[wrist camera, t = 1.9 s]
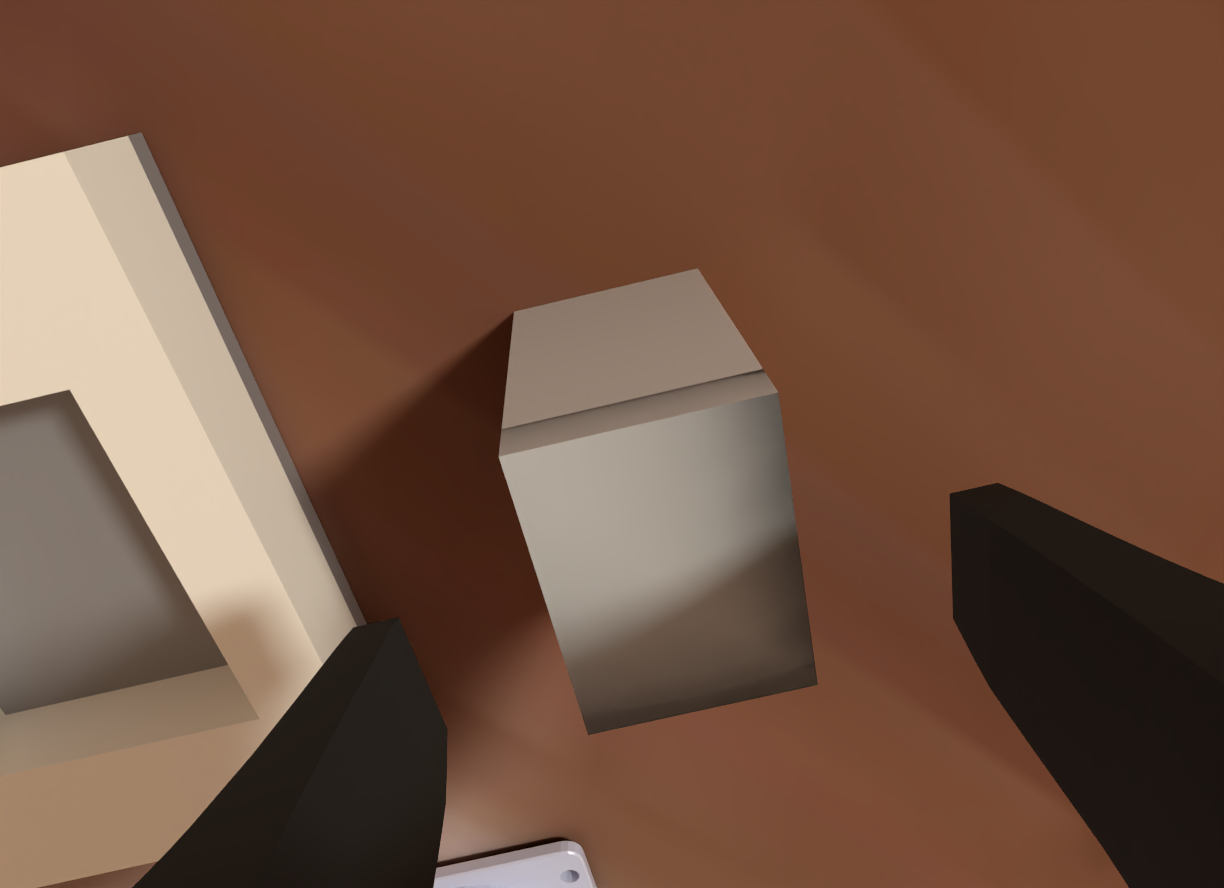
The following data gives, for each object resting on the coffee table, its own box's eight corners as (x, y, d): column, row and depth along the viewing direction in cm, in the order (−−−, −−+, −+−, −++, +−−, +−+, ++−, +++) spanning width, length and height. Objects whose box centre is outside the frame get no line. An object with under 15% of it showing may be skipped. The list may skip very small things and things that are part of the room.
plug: (735, 488, 18) (817, 684, 12) (575, 525, 18) (588, 734, 13) (697, 267, 16) (777, 391, 10) (513, 311, 16) (498, 456, 10)
